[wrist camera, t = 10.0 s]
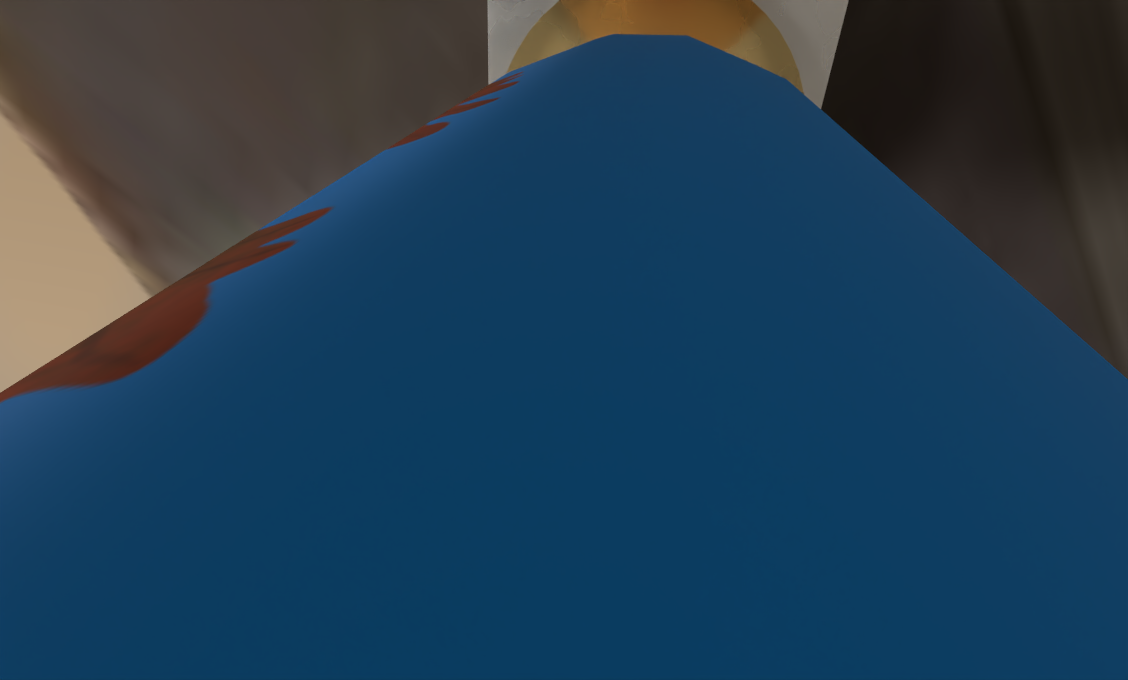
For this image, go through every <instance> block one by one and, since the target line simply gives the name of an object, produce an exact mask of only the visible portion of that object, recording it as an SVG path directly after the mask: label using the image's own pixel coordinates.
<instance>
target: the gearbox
mask: <svg viewBox="0 0 1128 680" xmlns="http://www.w3.org/2000/svg"><path fill="white" fill-rule="evenodd" d="M848 1H849V0H488V67H489V84H491V83H492V82H494V81H496V80H497V79H499V78H500V77H502V76H504V75H505V74H507V73H508V72H511V71H513V70H516V69H519V68H521V67H524V66H527V65H529V64H532V63H534V62H537V61H540V60H542V59H545V58H547V57H550V56H553V55H555V54H558V53H561V52H563V51H566V50H568V49H571V48H574V47H576V46H579V45H581V44H584V43H587V42H589V41H592V40H595V39H597V38H601V37H604V36H608V35H611V34H642V35H688V36H690V37H692V38H695V39H697V40H699V41H702V42H704V43H706V44H709V45H711V46H713V47H716V48H718V49H720V50H722V51H725V52H727V53H729V54H732V55H734V56H736V57H739V58H741V59H743V60H746V61H748V62H750V63H752V64H755V65H757V66H759V67H761V68H763V69H766V70H768V71H770V72H772V73H774V74H776V75H778V76H780V77H783V78H785V79H787V80H788V81H789V82H790V83H791V84H793V85H794V86H795V87H796V88H797V89H798V90H799V91H801V92H802V93H803V94H804V95H805V96H806V97H807V98H809V99H810V100H811V101H812V102H813V103H814V104H815V105H816V106H818V107H819V108H820V109H821V107H822V103H823V99H824V95H825V91H826V87H827V83H828V79H829V75H830V72H831V68H832V64H833V60H834V56H835V52H836V48H837V44H838V40H839V36H840V32H841V28H842V24H843V20H844V17H845V13H846V9H847V5H848Z"/></svg>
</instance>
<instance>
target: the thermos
mask: <svg viewBox="0 0 1128 680" xmlns="http://www.w3.org/2000/svg"><path fill="white" fill-rule="evenodd" d="M0 680H1128V379H1127V378H1126V377H1124V376H1123V375H1122V374H1121V373H1120V372H1119V371H1118V370H1116V369H1115V368H1114V367H1113V366H1112V365H1111V364H1110V363H1108V362H1107V361H1106V360H1105V359H1104V358H1103V357H1102V356H1101V355H1099V354H1098V353H1097V352H1096V351H1095V350H1094V349H1093V348H1091V347H1090V346H1089V345H1088V344H1087V343H1086V342H1085V341H1083V340H1082V339H1081V338H1080V337H1079V336H1078V335H1077V334H1076V333H1074V332H1073V331H1072V330H1071V329H1070V328H1069V327H1068V326H1066V325H1065V324H1064V323H1063V322H1062V321H1061V320H1060V319H1058V318H1057V317H1056V316H1055V315H1054V314H1053V313H1052V312H1051V311H1049V310H1048V309H1047V308H1046V307H1045V306H1044V305H1043V304H1041V303H1040V302H1039V301H1038V300H1037V299H1036V298H1035V297H1033V296H1032V295H1031V294H1030V293H1029V292H1028V291H1027V290H1026V289H1024V288H1023V287H1022V286H1021V285H1020V284H1019V283H1018V282H1016V281H1015V280H1014V279H1013V278H1012V277H1011V276H1010V275H1008V274H1007V273H1006V272H1005V271H1004V270H1003V269H1002V268H1001V267H999V266H998V265H997V264H996V263H995V262H994V261H993V260H991V259H990V258H989V257H988V256H987V255H986V254H985V253H983V252H982V251H981V250H980V249H979V248H978V247H977V246H976V245H974V244H973V243H972V242H971V241H970V240H969V239H968V238H966V237H965V236H964V235H963V234H962V233H961V232H960V231H958V230H957V229H956V228H955V227H954V226H953V225H952V224H951V223H949V222H948V221H947V220H946V219H945V218H944V217H943V216H941V215H940V214H939V213H938V212H937V211H936V210H935V209H933V208H932V207H931V206H930V205H929V204H928V203H927V202H926V201H924V200H923V199H922V198H921V197H920V196H919V195H918V194H916V193H915V192H914V191H913V190H912V189H911V188H910V187H908V186H907V185H906V184H905V183H904V182H903V181H902V180H901V179H899V178H898V177H897V176H896V175H895V174H894V173H893V172H891V171H890V170H889V169H888V168H887V167H886V166H885V165H884V164H882V163H881V162H880V161H879V160H878V159H877V158H876V157H874V156H873V155H872V154H871V153H870V152H869V151H868V150H866V149H865V148H864V147H863V146H862V145H861V144H860V143H859V142H857V141H856V140H855V139H854V138H853V137H852V136H851V135H849V134H848V133H847V132H846V131H845V130H844V129H843V128H841V127H840V126H839V125H838V124H837V123H836V122H835V121H834V120H832V119H831V118H830V117H829V116H828V115H827V114H826V113H824V112H823V111H822V110H821V109H820V108H819V107H818V106H816V105H815V104H814V103H813V102H812V101H811V100H810V99H809V98H807V97H806V96H805V95H804V94H803V93H802V92H801V91H799V90H798V89H797V88H796V87H795V86H794V85H793V84H791V83H790V82H789V81H788V80H787V79H785V78H783V77H780V76H778V75H776V74H774V73H772V72H770V71H768V70H766V69H763V68H761V67H759V66H757V65H755V64H752V63H750V62H748V61H746V60H743V59H741V58H739V57H736V56H734V55H732V54H729V53H727V52H725V51H722V50H720V49H718V48H716V47H713V46H711V45H709V44H706V43H704V42H702V41H699V40H697V39H695V38H692V37H690V36H688V35H642V34H611V35H608V36H604V37H601V38H597V39H595V40H592V41H589V42H587V43H584V44H581V45H579V46H576V47H574V48H571V49H568V50H566V51H563V52H561V53H558V54H555V55H553V56H550V57H547V58H545V59H542V60H540V61H537V62H534V63H532V64H529V65H527V66H524V67H521V68H519V69H516V70H513V71H511V72H508V73H507V74H505V75H504V76H502V77H500V78H499V79H497V80H496V81H494V82H492V83H491V84H489V85H488V86H486V87H484V88H483V89H481V90H480V91H478V92H477V93H475V94H473V95H472V96H470V97H469V98H467V99H465V100H464V101H462V102H461V103H459V104H458V105H456V106H454V107H453V108H451V109H450V110H448V111H446V112H445V113H443V114H442V115H440V116H439V117H437V118H435V119H434V120H432V121H431V122H429V123H427V124H426V125H424V126H423V127H421V128H419V129H418V130H416V131H415V132H413V133H412V134H410V135H408V136H407V137H405V138H404V139H402V140H400V141H399V142H397V143H396V144H394V145H393V146H391V147H389V148H388V149H386V150H385V151H383V152H381V153H380V154H378V155H377V156H375V157H374V158H372V159H370V160H369V161H367V162H366V163H364V164H362V165H361V166H359V167H358V168H356V169H354V170H353V171H351V172H350V173H348V174H347V175H345V176H343V177H342V178H340V179H339V180H337V181H335V182H334V183H332V184H331V185H329V186H328V187H326V188H324V189H323V190H321V191H320V192H318V193H316V194H315V195H313V196H312V197H310V198H309V199H307V200H305V201H304V202H302V203H301V204H299V205H297V206H296V207H294V208H293V209H291V210H289V211H288V212H286V213H285V214H283V215H282V216H280V217H278V218H277V219H275V220H274V221H272V222H270V223H269V224H267V225H266V226H264V227H263V228H261V229H259V230H258V231H256V232H255V233H253V234H251V235H250V236H248V237H247V238H245V239H243V240H242V241H240V242H239V243H237V244H236V245H234V246H232V247H231V248H229V249H228V250H226V251H224V252H223V253H221V254H220V255H218V256H217V257H215V258H213V259H212V260H210V261H209V262H207V263H205V264H204V265H202V266H201V267H199V268H198V269H196V270H194V271H193V272H191V273H190V274H188V275H186V276H185V277H183V278H182V279H180V280H178V281H177V282H175V283H174V284H172V285H171V286H169V287H167V288H166V289H164V290H163V291H161V292H159V293H158V294H156V295H155V296H153V297H152V298H150V299H148V300H147V301H145V302H144V303H142V304H140V305H139V306H137V307H136V308H134V309H133V310H131V311H129V312H128V313H126V314H125V315H123V316H121V317H120V318H118V319H117V320H115V321H113V322H112V323H110V324H109V325H107V326H106V327H104V328H103V329H101V330H99V331H98V332H96V333H94V334H93V335H91V336H90V337H88V338H87V339H85V340H83V341H82V342H80V343H79V344H77V345H76V346H74V347H72V348H71V349H69V350H68V351H66V352H64V353H63V354H61V355H60V356H58V357H56V358H55V359H54V360H52V361H50V362H49V363H47V364H45V365H44V366H42V367H41V368H39V369H37V370H36V371H34V372H33V373H31V374H29V375H28V376H26V377H25V378H23V379H22V380H20V381H18V382H17V383H15V384H14V385H12V386H10V387H9V388H7V389H6V390H4V391H3V392H1V393H0Z"/></svg>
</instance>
